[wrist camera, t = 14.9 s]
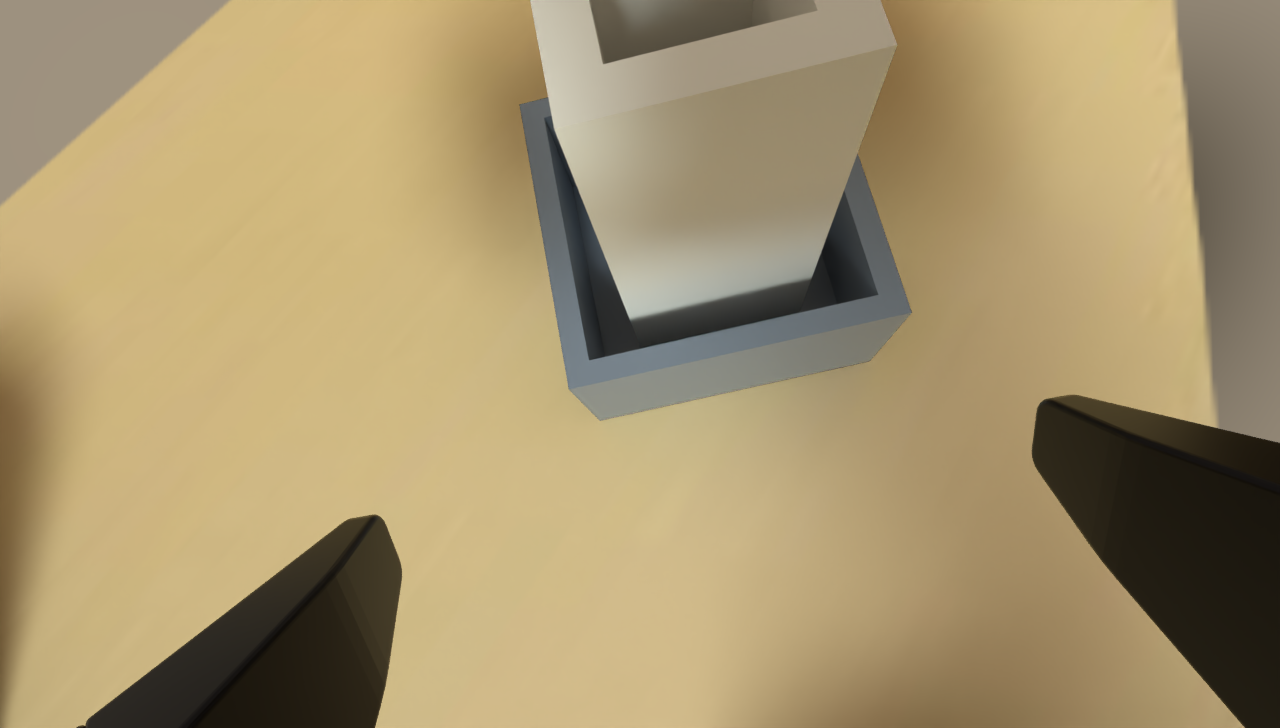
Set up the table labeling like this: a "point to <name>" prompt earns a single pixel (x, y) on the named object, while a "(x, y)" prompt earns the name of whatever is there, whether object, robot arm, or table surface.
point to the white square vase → (711, 143)
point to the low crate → (718, 360)
